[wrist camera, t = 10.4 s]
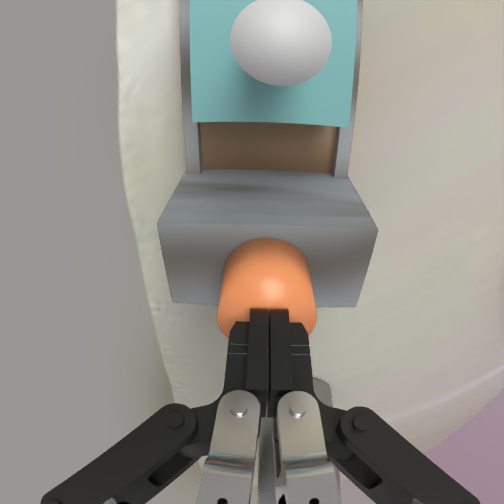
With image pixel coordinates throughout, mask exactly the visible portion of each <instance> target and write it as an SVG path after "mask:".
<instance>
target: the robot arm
mask: <svg viewBox="0 0 504 504" xmlns="http://www.w3.org/2000/svg"><path fill="white" fill-rule="evenodd" d="M258 437H259V462H258V502H257V504H342V502H341V492H340V491H341V490H340V476H339V470H340V471H341V472H342V473H343V474H344V475H345V476H346V477H347V478H348V479H350V480H351V481H352V482H353V483H354V484H355V485H356V486H357V487H358V488H359V489H361V491H363V492H364V493H365V494H366V495H367V496H368V497H369V498H370V499H372V500H373V501H374V502H375V503H376V504H480V502H479V500H478V499H477V498H476V497H475V496H474V495H472V494H471V493H470V492H469V491H467V490H466V489H465V488H464V487H462V486H461V485H460V484H459V483H457V482H456V481H455V480H454V479H453V478H451V477H450V476H449V475H448V474H446V473H445V472H444V471H443V470H442V469H440V468H439V467H438V466H437V465H435V464H434V463H433V462H432V461H431V460H429V459H428V458H427V457H426V456H425V455H423V454H422V453H421V452H420V451H419V450H418V449H416V448H415V447H414V446H413V445H412V444H410V443H409V442H408V441H407V440H406V439H405V438H403V437H402V436H401V435H400V434H399V433H398V432H396V431H395V430H394V429H393V428H392V427H391V426H390V425H388V424H387V423H386V422H385V421H384V420H383V419H381V418H380V417H379V416H378V415H377V414H376V413H375V412H373V411H372V410H371V409H369V408H366V407H354V408H351V409H349V410H348V411H345V410H341V409H337V408H333V404H332V396H331V389H330V387H329V385H328V384H327V383H325V382H323V381H321V380H317V379H313V377H312V367H311V357H310V348H309V339H308V332H307V331H306V329H305V327H304V326H303V324H302V323H301V322H290V321H289V310H288V309H270V313H269V316H268V309H261V308H250V317H249V322H245V321H236V322H235V324H234V325H233V327H232V328H231V330H230V333H229V342H228V353H227V362H226V372H225V382H224V389H223V392H222V394H221V396H220V397H219V398H218V399H217V400H216V401H215V402H213V403H211V404H209V405H206V406H201V407H196V408H192V409H190V408H188V407H187V406H185V405H182V404H178V403H174V404H169V405H166V406H164V407H162V408H161V409H160V410H159V411H157V412H156V413H155V414H154V415H152V416H151V417H150V418H149V419H147V420H146V421H145V422H144V423H142V424H141V425H140V426H139V427H137V428H136V429H135V430H133V431H132V432H131V433H129V434H128V435H127V436H125V437H124V438H123V439H122V440H120V441H119V442H118V443H116V444H115V445H114V446H112V447H111V448H110V449H108V450H107V451H106V452H104V453H103V454H102V455H100V456H99V457H98V458H96V459H95V460H94V461H92V462H91V463H89V464H88V465H87V466H85V467H84V468H82V469H81V470H80V471H78V472H77V473H75V474H74V475H72V476H71V477H70V478H68V479H67V480H65V481H64V482H62V483H61V484H59V485H58V486H57V487H55V488H54V489H52V490H51V491H49V492H48V493H46V494H45V495H44V496H43V498H42V500H41V504H145V503H146V502H148V501H149V500H150V499H152V498H153V497H154V496H155V495H157V494H158V493H159V492H160V491H162V490H163V489H164V488H165V487H166V486H168V485H169V484H170V483H171V482H173V481H174V480H175V479H176V478H177V477H179V476H180V475H181V474H182V473H183V472H184V471H186V470H187V469H188V468H189V467H190V466H191V465H193V464H194V463H195V462H196V461H197V460H198V459H199V458H200V457H201V456H206V455H208V458H207V459H206V460H205V463H204V466H203V471H202V476H201V481H200V486H199V491H198V496H197V502H196V504H250V499H251V491H252V483H253V474H254V466H255V458H256V449H257V441H258Z"/></svg>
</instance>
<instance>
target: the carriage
mask: <svg viewBox="0 0 504 504" xmlns="http://www.w3.org/2000/svg"><path fill="white" fill-rule="evenodd" d="M356 26H357V0H190V73H191V101H192V122H277V123H297V124H312V125H324V126H335V127H345V128H349V119H350V110H351V100H352V89H353V77H354V63H355V47H356Z"/></svg>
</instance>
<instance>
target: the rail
mask: <svg viewBox="0 0 504 504" xmlns="http://www.w3.org/2000/svg"><path fill="white" fill-rule="evenodd" d="M362 7H363V0H357V26H356V47H355V63H354V77H353V89H352V100H351V110H350V119H349V128H345V127H335V126H324V125H312V124H297V123H277V122H192V101H191V73H190V0H180V54H181V84H182V105H183V123H184V138H185V152H186V165H187V170H186V172H185V174H184V175H183V177H182V179H181V181H180V182H179V184H178V186H177V188H176V189H175V191H174V193H173V195H172V196H171V198H170V200H169V202H168V204H167V205H166V207H165V209H164V211H163V213H162V215H161V217H160V218H159V220H158V222H157V227H158V233H159V238H160V244H161V249H162V255H163V260H164V265H165V270H166V275H167V279H168V284H169V289H170V293H171V298H172V302H173V303H189V304H209V305H219V301H220V294H221V288H222V281H223V275H224V269H225V264H226V261H227V259H228V257H229V255H230V254H231V253H232V252H233V251H234V250H235V249H236V248H237V247H239V246H240V245H242V244H244V243H246V242H249V241H251V240H255V239H262V238H272V239H279V240H283V241H286V242H288V243H290V244H292V245H294V246H295V247H297V248H298V249H299V250H300V251H301V252H302V253H303V254H304V256H305V257H306V259H307V261H308V265H309V270H310V276H311V282H312V288H313V294H314V301H315V307H356V305H357V302H358V298H359V295H360V292H361V289H362V286H363V282H364V279H365V276H366V273H367V269H368V266H369V262H370V259H371V255H372V252H373V248H374V244H375V241H376V237H377V233H378V228H377V226H376V225H375V223H374V221H373V219H372V217H371V215H370V214H369V212H368V210H367V208H366V206H365V205H364V203H363V201H362V199H361V198H360V196H359V194H358V192H357V191H356V189H355V187H354V186H353V184H352V182H351V181H350V179H349V177H348V176H347V174H348V167H349V160H350V153H351V145H352V137H353V129H354V121H355V111H356V102H357V91H358V80H359V67H360V53H361V35H362Z"/></svg>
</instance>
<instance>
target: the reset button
mask: <svg viewBox="0 0 504 504" xmlns="http://www.w3.org/2000/svg"><path fill="white" fill-rule="evenodd" d="M250 308H261V309H268V316H269V313H270V309H288V310H289V321H290V322H301V323H302V324H303V326H304V327H305V329H306V331H307V332H308V335H309V334H310V333H311V332H312V331H313V329H314V327H315V324H316V320H317V314H316V307H315V301H314V294H313V288H312V282H311V276H310V270H309V265H308V261H307V259H306V257H305V256H304V254H303V253H302V252H301V251H300V250H299V249H298V248H297V247H295V246H294V245H292V244H290V243H288V242H286V241H283V240H279V239H272V238H262V239H255V240H251V241H249V242H246V243H244V244H242V245H240V246H239V247H237V248H236V249H235V250H234V251H233V252H232V253H231V254H230V255H229V257H228V259H227V261H226V264H225V269H224V275H223V281H222V288H221V294H220V301H219V308H218V314H217V321H218V325H219V327H220V329H221V331H222V332H223V334H224V335H225V336H226V337H227V338H228V339H229V333H230V330H231V328H232V327H233V325H234V324H235V322H236V321H245V322H249V317H250Z"/></svg>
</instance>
